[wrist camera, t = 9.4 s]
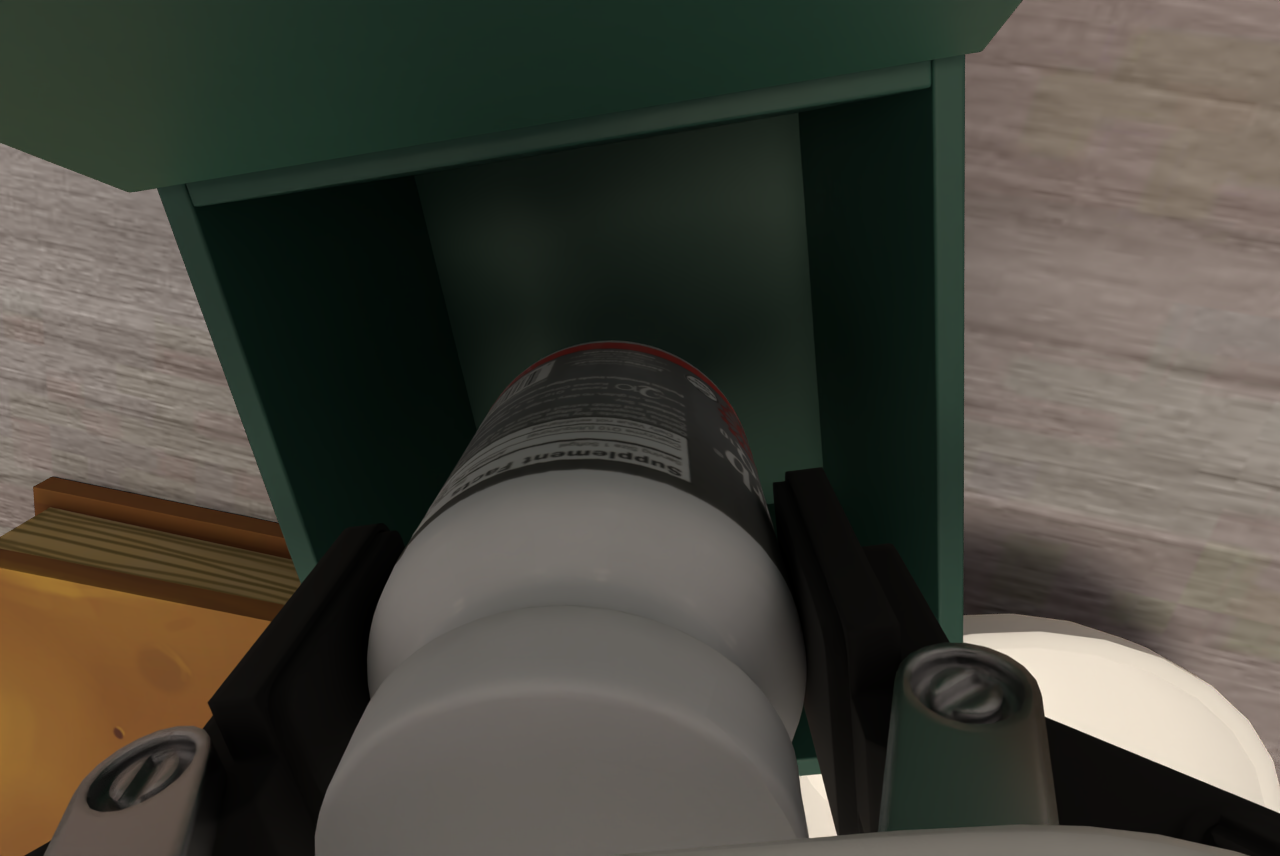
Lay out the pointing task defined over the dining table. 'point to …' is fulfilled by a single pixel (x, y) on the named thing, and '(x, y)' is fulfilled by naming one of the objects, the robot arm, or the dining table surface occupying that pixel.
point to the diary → (117, 633)
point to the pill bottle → (583, 635)
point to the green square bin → (612, 299)
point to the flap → (408, 70)
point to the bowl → (1116, 707)
